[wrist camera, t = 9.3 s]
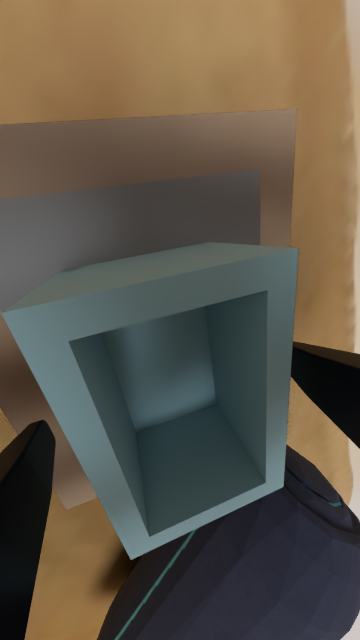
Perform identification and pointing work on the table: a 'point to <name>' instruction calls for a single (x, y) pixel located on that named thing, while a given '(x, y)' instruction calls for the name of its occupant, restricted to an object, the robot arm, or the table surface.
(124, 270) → the box
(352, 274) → the table surface
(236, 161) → the walnut stand
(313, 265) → the table surface
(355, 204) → the table surface
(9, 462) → the robot arm
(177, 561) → the portable speaker
